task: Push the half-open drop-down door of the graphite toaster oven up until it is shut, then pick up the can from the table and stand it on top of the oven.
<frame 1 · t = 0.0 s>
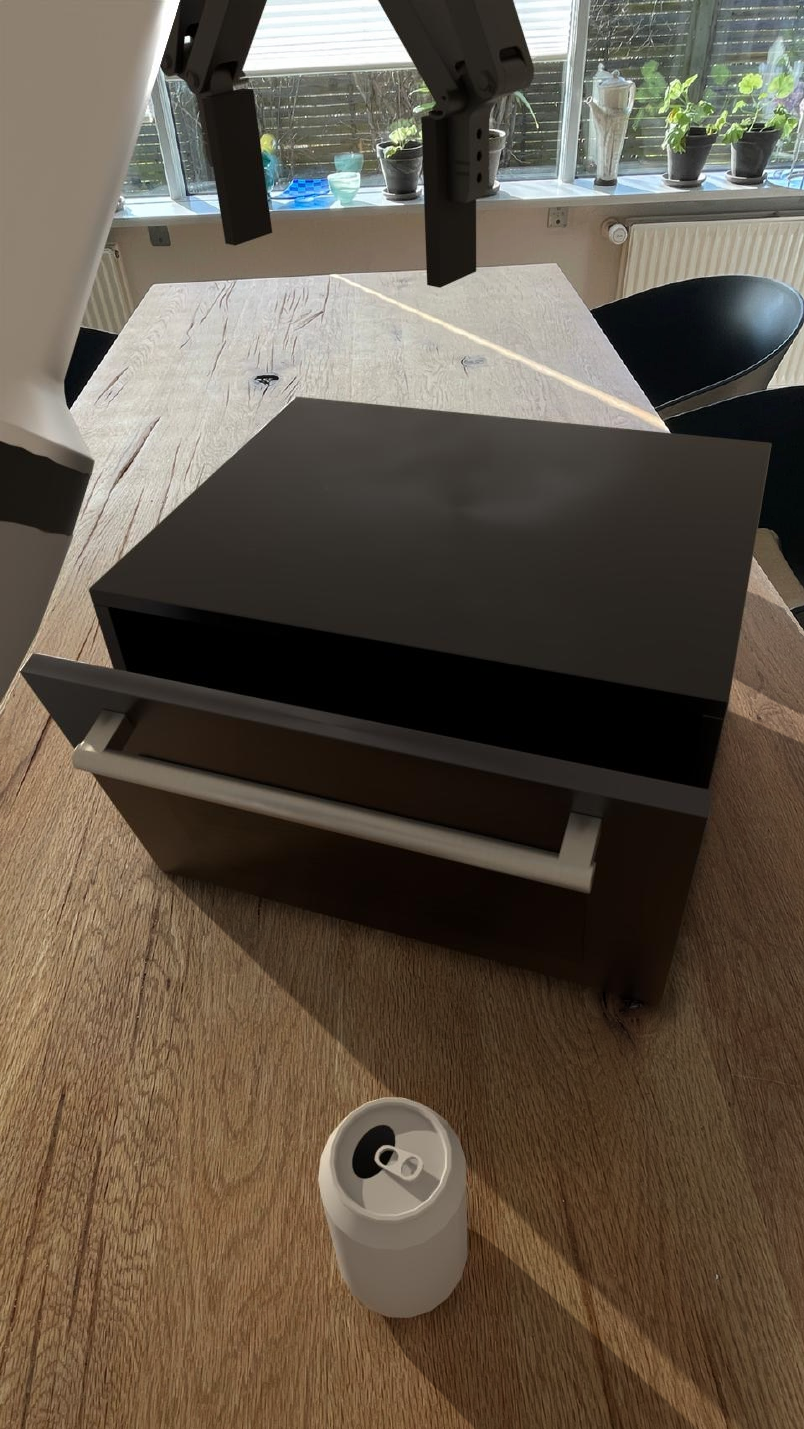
hand: (343, 258, 47), 46 cm above the table, tool pointing down, fingers open, 13 cm apart
oven door: (356, 866, 60), point 12 cm above the table, hinge at 13.1°
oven: (461, 774, 84), on the table
can: (403, 1250, 55), on the table
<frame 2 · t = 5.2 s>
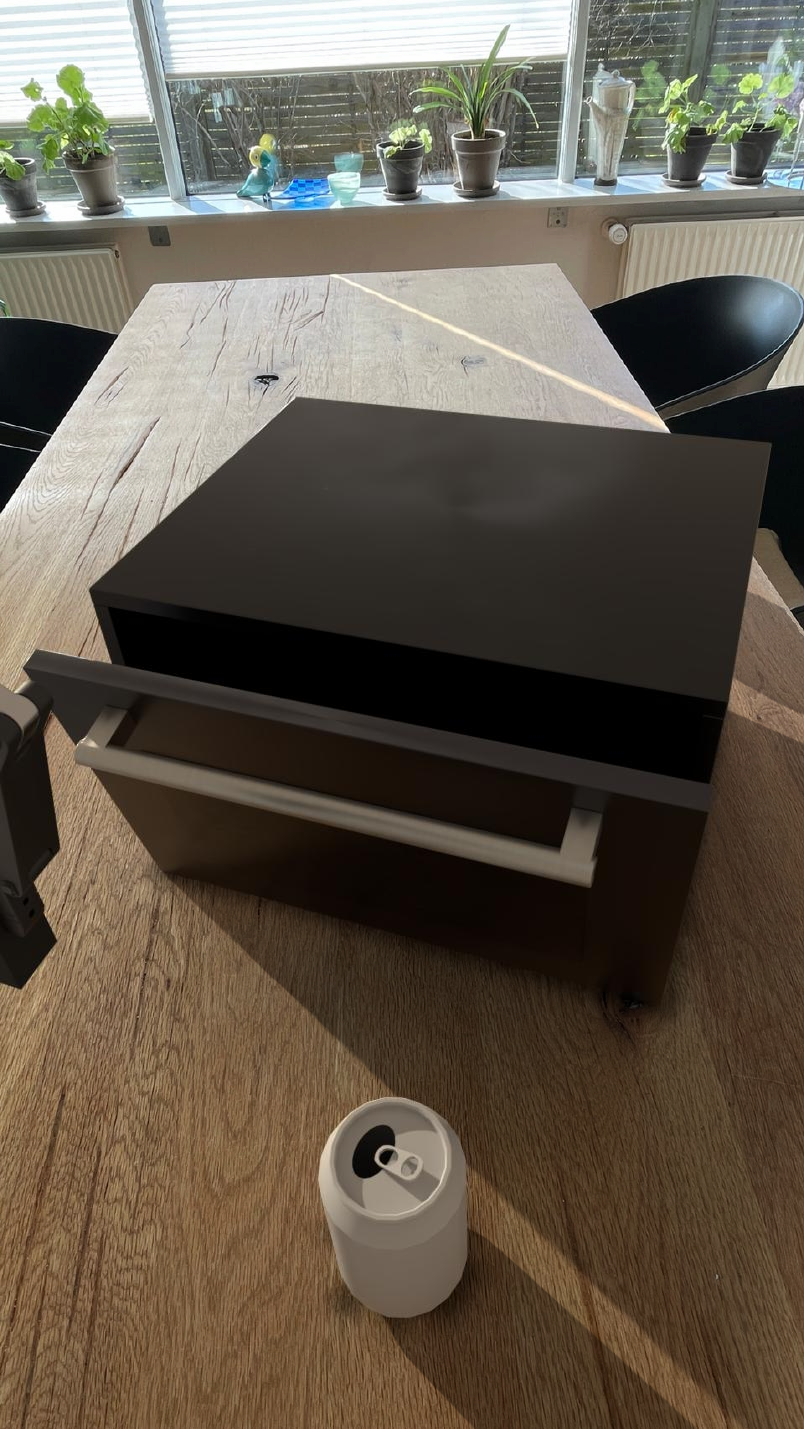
hand: (26, 960, 43), 23 cm above the table, tool pointing down, fingers closed
oven door: (357, 863, 61), point 12 cm above the table, hinge at 12.4°
everything else where it was.
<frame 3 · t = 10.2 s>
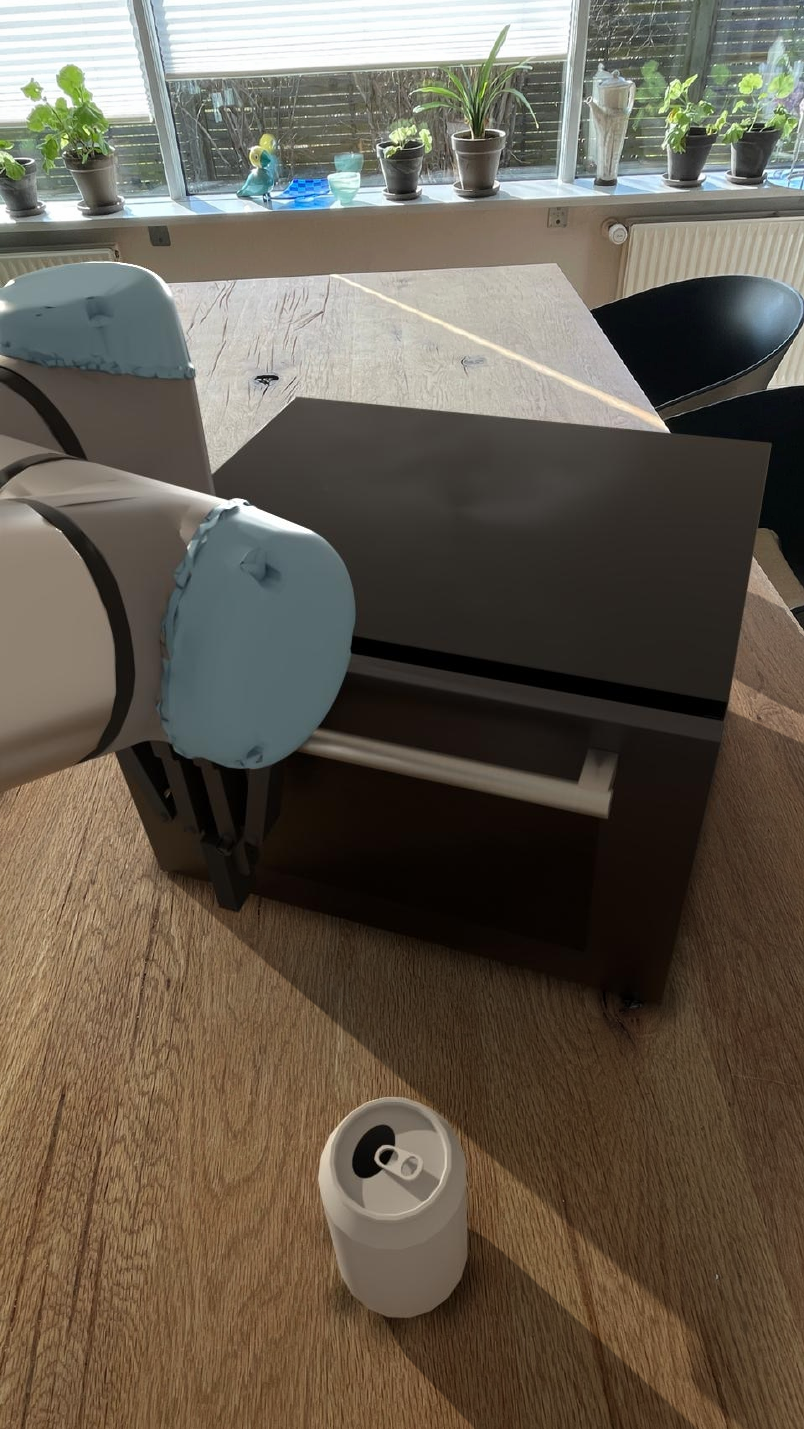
hand: (238, 894, 63), 9 cm above the table, tool pointing down, fingers closed
oven door: (369, 833, 62), point 13 cm above the table, hinge at 2.6°, touching hand
everything else where it was.
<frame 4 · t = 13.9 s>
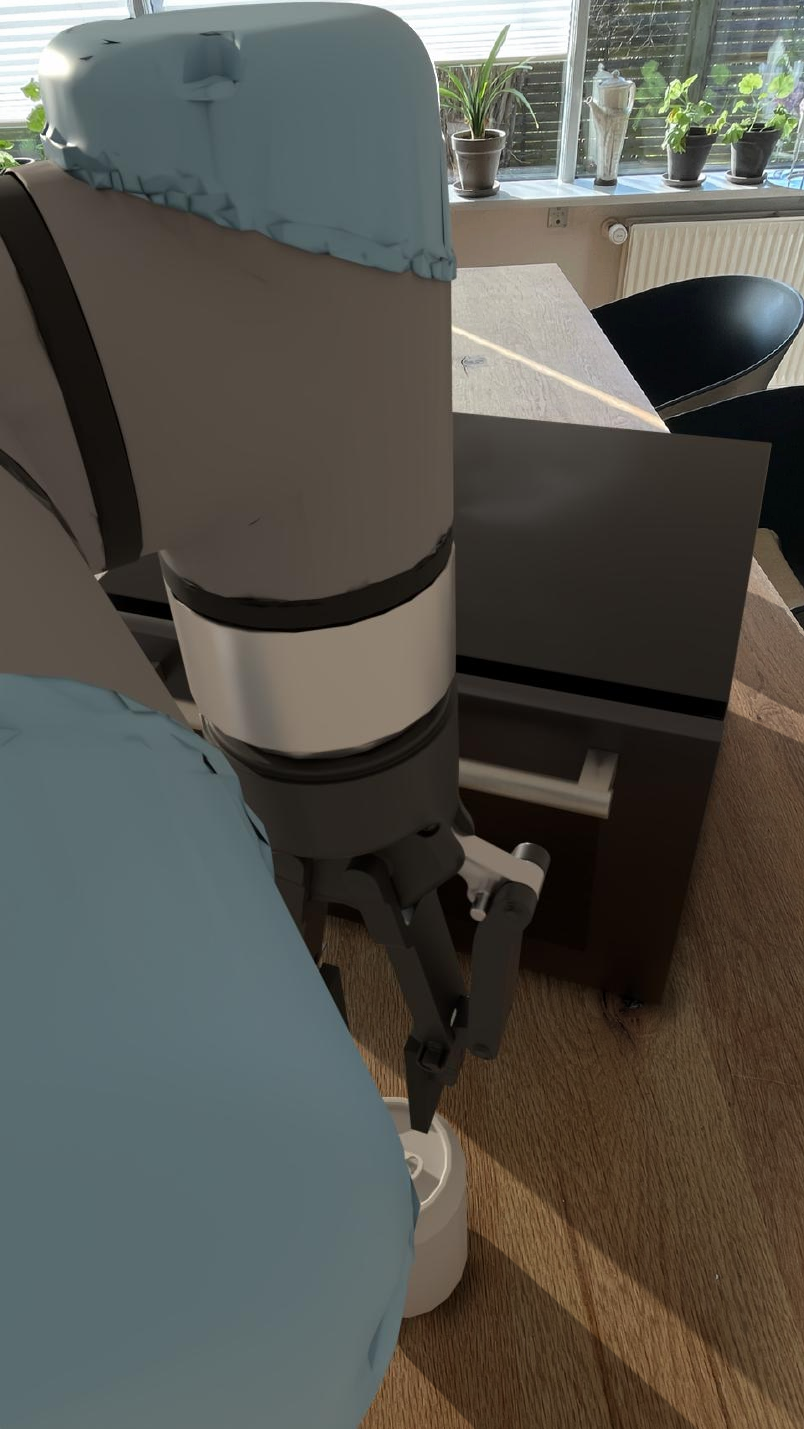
hand: (380, 1086, 42), 19 cm above the table, tool pointing down, fingers open, 4 cm apart
oven door: (369, 833, 62), point 13 cm above the table, hinge at 2.6°
everything else where it was.
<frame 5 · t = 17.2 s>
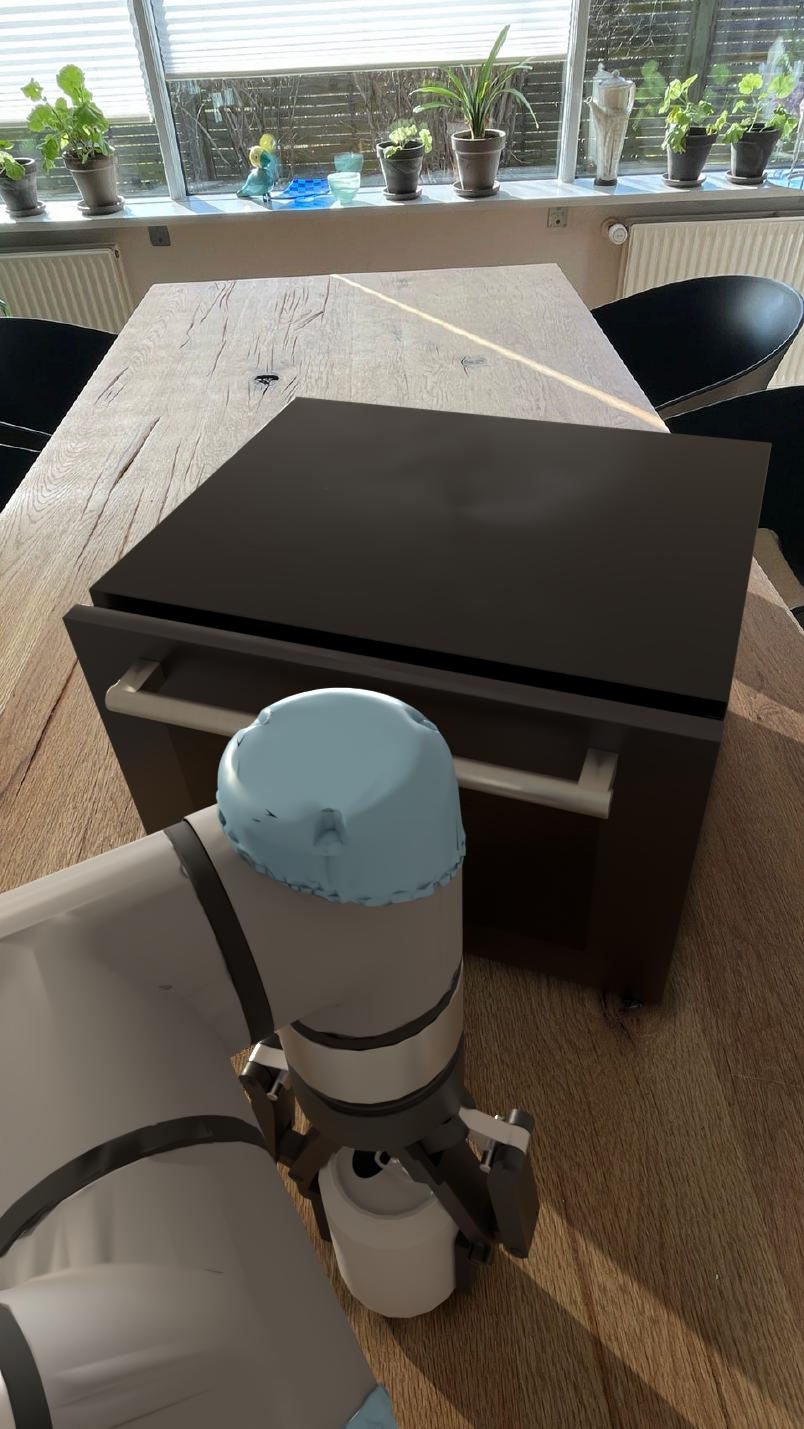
hand: (401, 1241, 54), 1 cm above the table, tool pointing down, fingers closed on can, 7 cm apart
can: (403, 1250, 55), on the table, touching gripper
everything else where it was.
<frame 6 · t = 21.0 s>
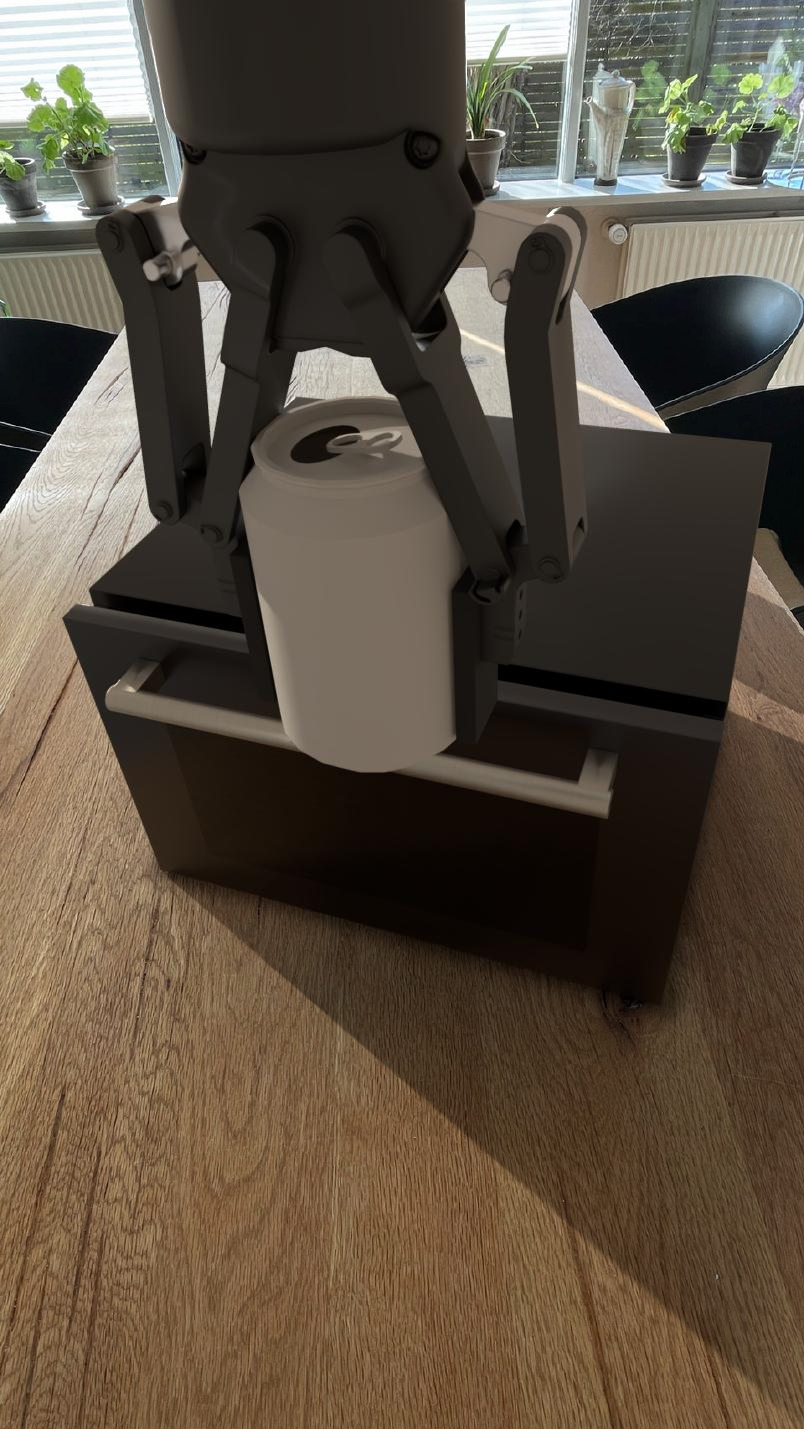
hand: (376, 698, 36), 36 cm above the table, tool pointing down, fingers closed on can, 7 cm apart
can: (379, 724, 37), point 34 cm above the table, touching gripper
everything else where it was.
when the fingers open (27 cm above the table, at t = 25.2 s): can stays where it is, resting on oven.
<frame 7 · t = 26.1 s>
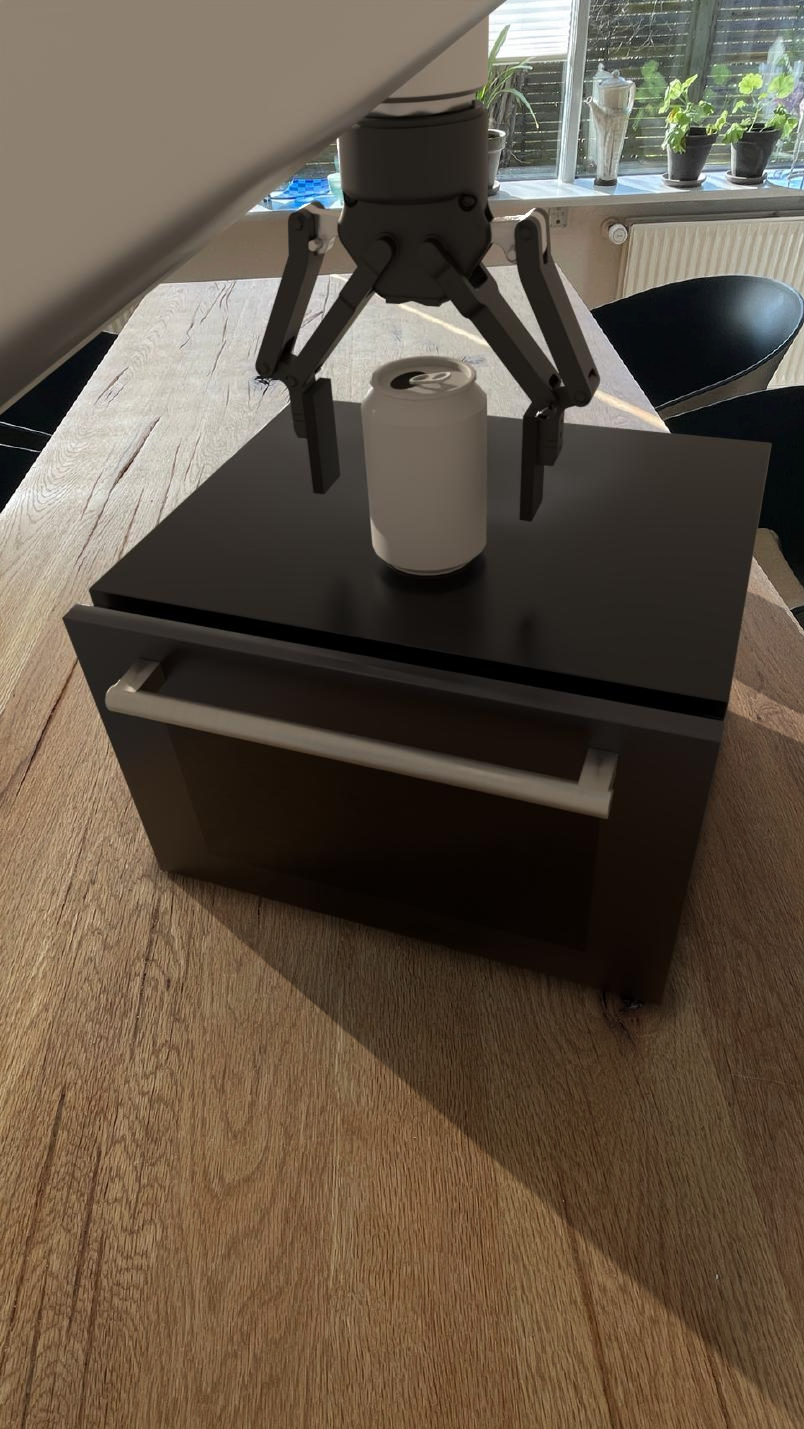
hand: (425, 497, 60), 30 cm above the table, tool pointing down, fingers open, 13 cm apart
can: (430, 554, 63), point 26 cm above the table, touching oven
everything else where it was.
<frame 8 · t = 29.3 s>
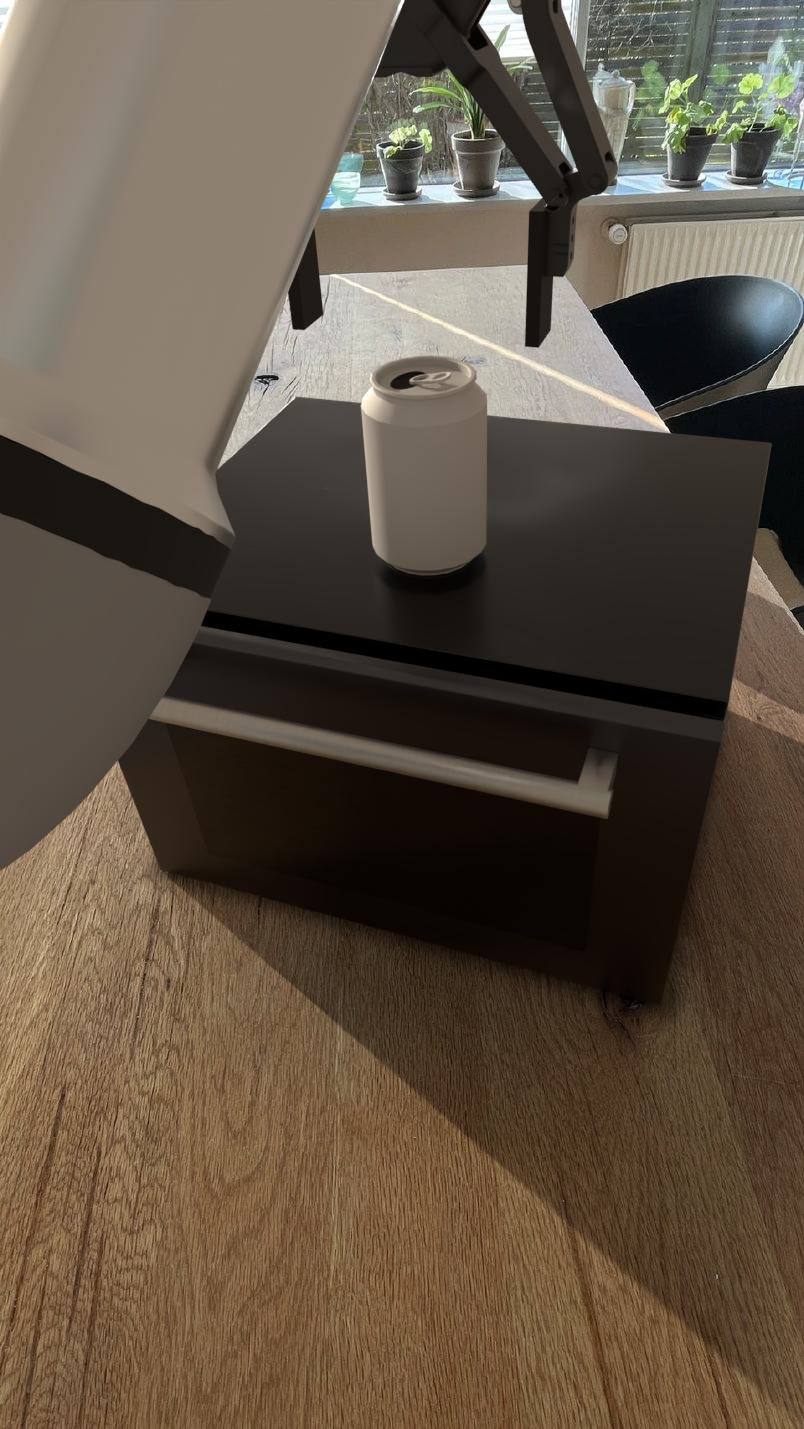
hand: (418, 330, 53), 40 cm above the table, tool pointing down, fingers open, 13 cm apart
nothing on the table moved.
at the end: oven door at +3° (first picture: +13°); can inside the target area on the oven (1.6 cm from its centre), point 25.8 cm above the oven's base; can tilted 0° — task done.
